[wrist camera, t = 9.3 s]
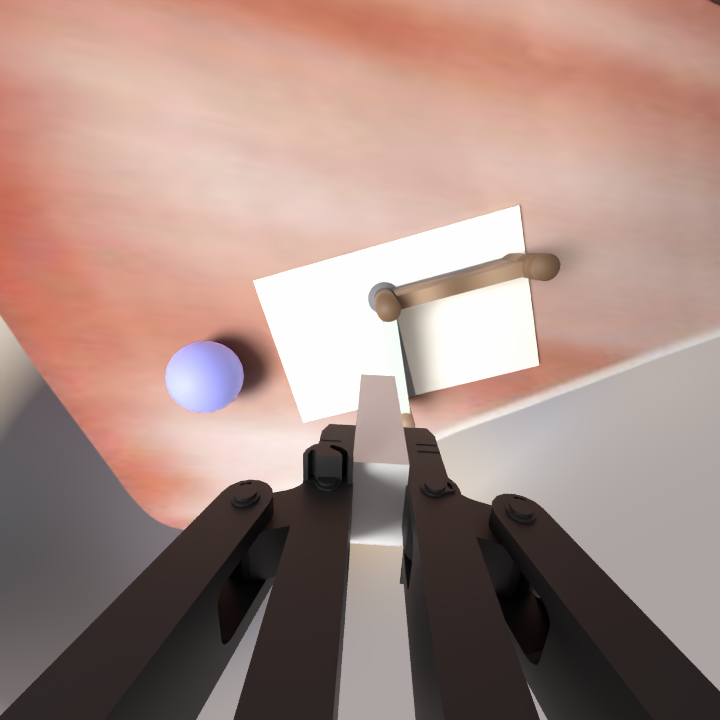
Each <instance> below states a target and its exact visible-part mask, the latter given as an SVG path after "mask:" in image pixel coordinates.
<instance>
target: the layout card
mask: <svg viewBox="0 0 720 720" xmlns="http://www.w3.org/2000/svg"><path fill="white" fill-rule="evenodd" d="M510 253H521V254H525V247H524V239H523V231H522V223H521V215H520V207H519V205H518V206H515V207H511V208H508V209H504V210H500V211H497V212H493V213H490V214H486V215H483V216H479V217H476V218H472V219H469V220H465V221H462V222H458V223H455V224H451V225H448V226H444V227H441V228H437V229H434V230H430V231H427V232H423V233H420V234H416V235H413V236H409V237H406V238H402V239H399V240H395V241H392V242H388V243H385V244H381V245H378V246H374V247H371V248H367V249H364V250H360V251H356V252H353V253H349V254H346V255H342V256H339V257H335V258H332V259H328V260H325V261H321V262H318V263H314V264H311V265H307V266H304V267H300V268H297V269H293V270H290V271H286V272H283V273H279V274H276V275H272V276H269V277H265V278H262V279H258V280H255V281H253V282H254V285H255V287H256V290H257V293H258V296H259V299H260V301H261V304H262V307H263V310H264V313H265V316H266V318H267V321H268V324H269V327H270V330H271V332H272V335H273V338H274V341H275V344H276V347H277V349H278V352H279V355H280V358H281V361H282V363H283V366H284V369H285V372H286V375H287V378H288V380H289V383H290V386H291V389H292V392H293V395H294V397H295V400H296V403H297V406H298V409H299V411H300V414H301V417H302V420H303V422H308V421H312V420H316V419H320V418H324V417H328V416H332V415H336V414H341V413H345V412H349V411H353V410H357V409H358V400H359V390H360V379H361V374H368V375H387V376H390V370H389V364H388V358H387V351H386V345H385V339H384V333H383V326H382V320H381V319H380V318H379V317H378V315H377V312H376V307H375V302H374V295H375V293H376V292H377V291H378V290H379V289H382V288H387V289H389V290H391V291H392V293H393V290H394V289H398V288H401V287H405V286H409V285H412V284H416V283H420V282H423V281H427V280H431V279H434V278H438V277H442V276H445V275H449V274H453V273H456V272H460V271H464V270H467V269H471V268H475V267H479V266H482V265H486V264H490V263H493V262H497V261H501V260H502V259H503V257H504V256H505V255H507V254H510ZM397 325H398V332H399V339H400V346H401V353H402V359H403V366H404V373H405V380H406V386H407V393H408V397H412V396H416V395H419V394H423V393H427V392H431V391H436V390H440V389H444V388H448V387H452V386H456V385H460V384H464V383H469V382H473V381H477V380H481V379H485V378H489V377H493V376H498V375H502V374H506V373H510V372H514V371H518V370H522V369H526V368H531V367H535V366H539V359H538V351H537V343H536V335H535V327H534V319H533V311H532V303H531V295H530V287H529V279H528V278H524V277H521V278H517V279H514V280H510V281H506V282H502V283H499V284H495V285H491V286H487V287H484V288H480V289H476V290H472V291H469V292H465V293H461V294H457V295H454V296H450V297H446V298H442V299H439V300H435V301H431V302H427V303H423V304H420V305H416V306H412V307H408V308H405V309H401V313H400V316H399V317H398V318H397Z"/></svg>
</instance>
